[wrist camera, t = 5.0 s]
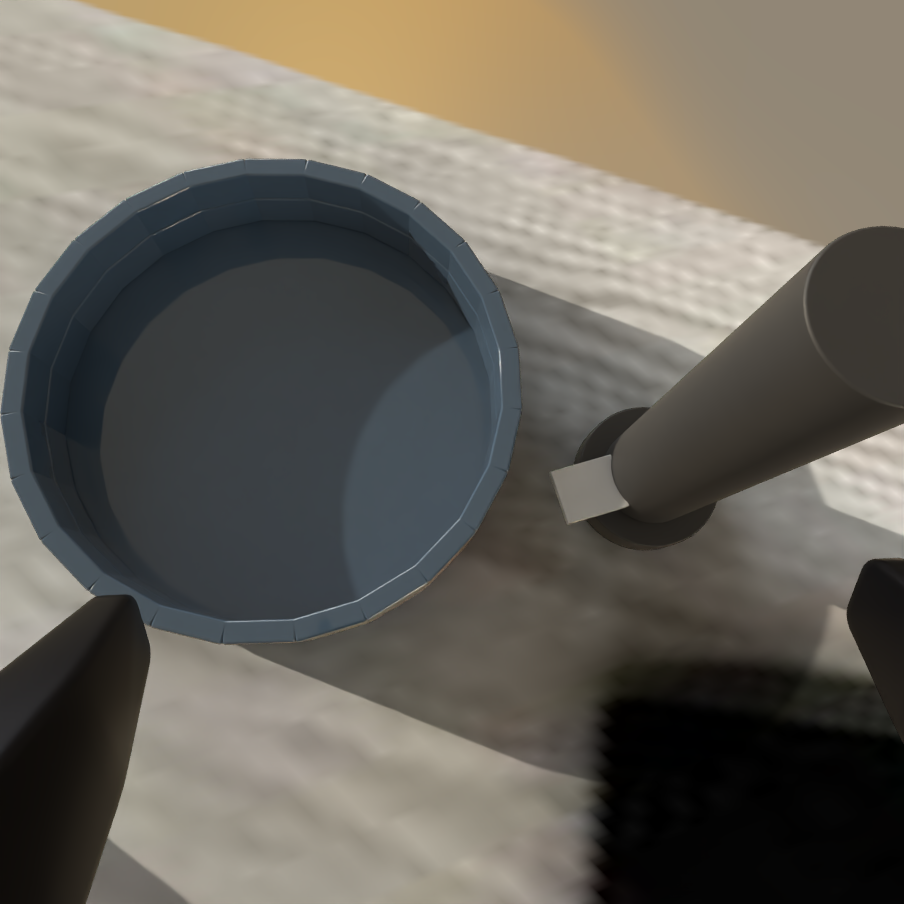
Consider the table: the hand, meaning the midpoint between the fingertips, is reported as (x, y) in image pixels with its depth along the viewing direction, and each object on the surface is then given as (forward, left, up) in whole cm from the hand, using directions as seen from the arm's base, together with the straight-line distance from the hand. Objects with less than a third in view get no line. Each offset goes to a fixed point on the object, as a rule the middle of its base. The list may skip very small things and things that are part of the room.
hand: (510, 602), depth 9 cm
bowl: (+8, -3, -13) cm, 15 cm away
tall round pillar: (-3, -7, -13) cm, 15 cm away
